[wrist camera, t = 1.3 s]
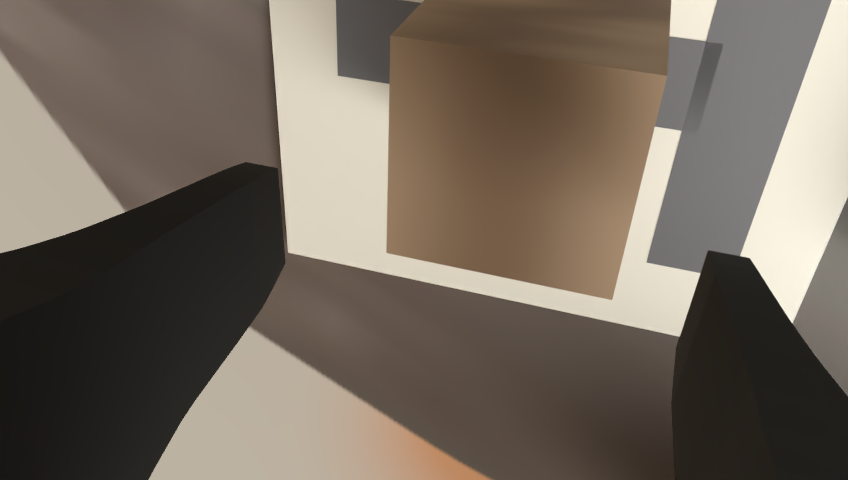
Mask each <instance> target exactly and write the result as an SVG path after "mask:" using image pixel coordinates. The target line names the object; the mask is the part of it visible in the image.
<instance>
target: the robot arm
mask: <svg viewBox="0 0 848 480" xmlns="http://www.w3.org/2000/svg"><path fill="white" fill-rule="evenodd" d="M284 265H285V253H284V240H283V228H282V215H281V203H280V190H279V178H278V168H273V167H268V166H263V165H258V164H252V163H247V162H245V163H242V164H239V165H236V166H233V167H231V168H228V169H226V170H223V171H221V172H218V173H216V174H213V175H211V176H209V177H206V178H204V179H202V180H200V181H197V182H195V183H193V184H191V185H188V186H186V187H184V188H181V189H179V190H177V191H175V192H172V193H170V194H168V195H165V196H163V197H161V198H159V199H156V200H154V201H152V202H149V203H147V204H145V205H142V206H140V207H137V208H135V209H132V210H130V211H127V212H125V213H122V214H120V215H117V216H115V217H112V218H109V219H107V220H104V221H102V222H99V223H97V224H94V225H92V226H89V227H86V228H83V229H81V230H78V231H75V232H72V233H69V234H66V235H63V236H60V237H57V238H53V239H50V240H47V241H44V242H40V243H37V244H34V245H30V246H27V247H23V248H20V249H17V250H12V251H8V252H4V253H0V480H148V479H149V477H150V476H151V473H152V472H153V470H154V468H155V466H156V464H157V463H158V461H159V459H160V458H161V456H162V454H163V452H164V451H165V449H166V447H167V445H168V444H169V442H170V440H171V438H172V437H173V435H174V433H175V431H176V430H177V428H178V426H179V424H180V423H181V421H182V419H183V418H184V416H185V414H186V413H187V412H188V410H189V408H190V407H191V406H192V404H193V403H194V401H195V400H196V398H197V397H198V396H199V394H200V393H201V392H202V390H203V389H204V388H205V386H206V385H207V383H208V382H209V381H210V379H211V378H212V377H213V375H214V374H215V373H216V371H217V370H218V368H219V367H220V366H221V364H222V363H223V361H224V360H225V359H226V358H227V356H228V355H229V353H230V352H231V351H232V349H233V348H234V346H235V345H236V344H237V343H238V341H239V340H240V338H241V337H242V336H243V334H244V333H245V331H246V330H247V328H248V327H249V326H250V324H251V323H252V322H253V320H254V319H255V317H256V316H257V314H258V313H259V312H260V310H261V309H262V307H263V305H264V303H265V302H266V300H267V298H268V296H269V294H270V292H271V291H272V289H273V287H274V285H275V283H276V281H277V279H278V277H279V275H280V273H281V271H282V269H283V267H284ZM672 427H673V448H674V468H675V480H848V396H847V395H846V394H845V393H844V391H843V390H842V389H841V388H840V386H839V385H838V384H837V383H836V382H835V380H834V379H833V378H832V377H831V375H830V374H829V373H828V372H827V370H826V369H825V368H824V367H823V365H822V364H821V363H820V361H819V360H818V359H817V357H816V356H815V355H814V354H813V352H812V351H811V349H810V348H809V347H808V345H807V344H806V342H805V341H804V340H803V338H802V337H801V335H800V334H799V332H798V331H797V330H796V328H795V327H794V325H793V324H792V322H791V321H790V319H789V318H788V316H787V315H786V313H785V312H784V310H783V309H782V307H781V306H780V304H779V303H778V301H777V299H776V298H775V296H774V295H773V293H772V292H771V290H770V289H769V287H768V285H767V284H766V282H765V281H764V279H763V277H762V276H761V274H760V273H759V271H758V270H757V268H756V267H755V265H754V264H753V262H752V261H751V259H750V258H747V257H742V256H737V255H732V254H726V253H721V252H716V251H711V250H708V252H707V255H706V258H705V261H704V264H703V267H702V270H701V273H700V277H699V280H698V283H697V286H696V289H695V292H694V295H693V298H692V301H691V304H690V307H689V310H688V313H687V316H686V319H685V322H684V326H683V329H682V332H681V335H680V338H679V341H678V344H677V347H676V356H675V366H674V377H673V390H672Z"/></svg>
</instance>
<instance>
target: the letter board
mask: <svg viewBox="0 0 848 480" xmlns="http://www.w3.org/2000/svg"><path fill="white" fill-rule="evenodd" d="M423 1H424V0H269V6H270V20H271V33H272V46H273V59H274V72H275V86H276V99H277V112H278V125H279V138H280V152H281V165H282V178H283V191H284V204H285V218H286V231H287V244H288V253H293V254H297V255H302V256H307V257H311V258H316V259H320V260H325V261H330V262H334V263H339V264H344V265H348V266H353V267H358V268H362V269H367V270H372V271H376V272H381V273H386V274H390V275H395V276H400V277H404V278H409V279H414V280H418V281H423V282H428V283H432V284H437V285H442V286H446V287H451V288H456V289H460V290H465V291H469V292H474V293H479V294H483V295H488V296H493V297H497V298H502V299H507V300H511V301H516V302H521V303H525V304H530V305H535V306H539V307H544V308H549V309H553V310H558V311H563V312H567V313H572V314H577V315H581V316H586V317H591V318H595V319H600V320H605V321H609V322H614V323H618V324H623V325H628V326H632V327H637V328H642V329H646V330H651V331H656V332H660V333H665V334H670V335H674V336H679V337H680V335H681V332H682V329H683V326H684V322H685V319H686V316H687V313H688V310H689V307H690V304H691V301H692V298H693V295H694V292H695V289H696V286H697V283H698V280H699V277H700V273H701V270H702V267H703V264H704V261H705V258H706V255H707V252H708V250H711V251H716V252H721V253H726V254H732V255H737V256H742V257H747V258H750V259H751V261H752V262H753V264H754V265H755V267H756V268H757V270H758V271H759V273H760V274H761V276H762V277H763V279H764V281H765V282H766V284H767V285H768V287H769V289H770V290H771V292H772V293H773V295H774V296H775V298H776V299H777V301H778V303H779V304H780V306H781V307H782V309H783V310H784V312H785V313H786V315H787V316H788V318H789V319H790V321H791V322H792V323H793V321H794V319H795V316H796V314H797V312H798V309H799V307H800V305H801V303H802V300H803V298H804V296H805V293H806V291H807V289H808V287H809V284H810V282H811V280H812V277H813V275H814V273H815V271H816V268H817V266H818V264H819V261H820V259H821V257H822V255H823V252H824V250H825V248H826V245H827V243H828V241H829V239H830V236H831V234H832V232H833V229H834V227H835V225H836V223H837V220H838V218H839V216H840V213H841V211H842V209H843V207H844V204H845V202H846V200H847V197H848V0H671V15H670V35H669V54H668V73H667V79H666V83H665V88H664V92H663V96H662V100H661V104H660V108H659V112H658V116H657V120H656V124H655V128H654V132H653V136H652V140H651V144H650V148H649V153H648V157H647V161H646V165H645V169H644V173H643V177H642V181H641V185H640V189H639V193H638V197H637V201H636V205H635V209H634V214H633V218H632V222H631V226H630V230H629V234H628V238H627V242H626V246H625V250H624V254H623V258H622V262H621V266H620V270H619V274H618V279H617V283H616V287H615V291H614V295H613V299H612V300H609V299H604V298H599V297H595V296H590V295H585V294H580V293H575V292H571V291H566V290H561V289H556V288H551V287H547V286H542V285H537V284H532V283H528V282H523V281H518V280H513V279H508V278H504V277H499V276H494V275H489V274H484V273H480V272H475V271H470V270H465V269H461V268H456V267H451V266H446V265H441V264H437V263H432V262H427V261H422V260H417V259H413V258H408V257H403V256H398V255H393V254H389V253H386V246H387V192H388V137H389V83H390V35H391V34H392V33H393V32H394V31H395V30H396V29H397V28H398V27H399V26H400V25H401V24H402V23H403V22H404V21H405V20H406V19H407V18H408V16H409V15H410V14H411V13H412V12H413V11H414V10H415V9H416V8H417V7H418V6H419V5H420V4H421V3H422V2H423Z"/></svg>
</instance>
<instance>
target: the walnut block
mask: <svg viewBox="0 0 848 480" xmlns="http://www.w3.org/2000/svg"><path fill="white" fill-rule="evenodd" d="M670 15H671V0H424V1H423V2H422V3H421V4H420V5H419V6H418V7H417V8H416V9H415V10H414V11H413V12H412V13H411V14H410V15H409V16H408V18H407V19H406V20H405V21H404V22H403V23H402V24H401V25H400V26H399V27H398V28H397V29H396V30H395V31H394V32H393V33H392V34H391V35H390V83H389V137H388V192H387V246H386V253H389V254H393V255H398V256H403V257H408V258H413V259H417V260H422V261H427V262H432V263H437V264H441V265H446V266H451V267H456V268H461V269H465V270H470V271H475V272H480V273H484V274H489V275H494V276H499V277H504V278H508V279H513V280H518V281H523V282H528V283H532V284H537V285H542V286H547V287H551V288H556V289H561V290H566V291H571V292H575V293H580V294H585V295H590V296H595V297H599V298H604V299H609V300H612V299H613V295H614V291H615V287H616V283H617V279H618V274H619V270H620V266H621V262H622V258H623V254H624V250H625V246H626V242H627V238H628V234H629V230H630V226H631V222H632V218H633V214H634V209H635V205H636V201H637V197H638V193H639V189H640V185H641V181H642V177H643V173H644V169H645V165H646V161H647V157H648V153H649V148H650V144H651V140H652V136H653V132H654V128H655V124H656V120H657V116H658V112H659V108H660V104H661V100H662V96H663V92H664V88H665V83H666V79H667V73H668V54H669V35H670Z"/></svg>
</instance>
